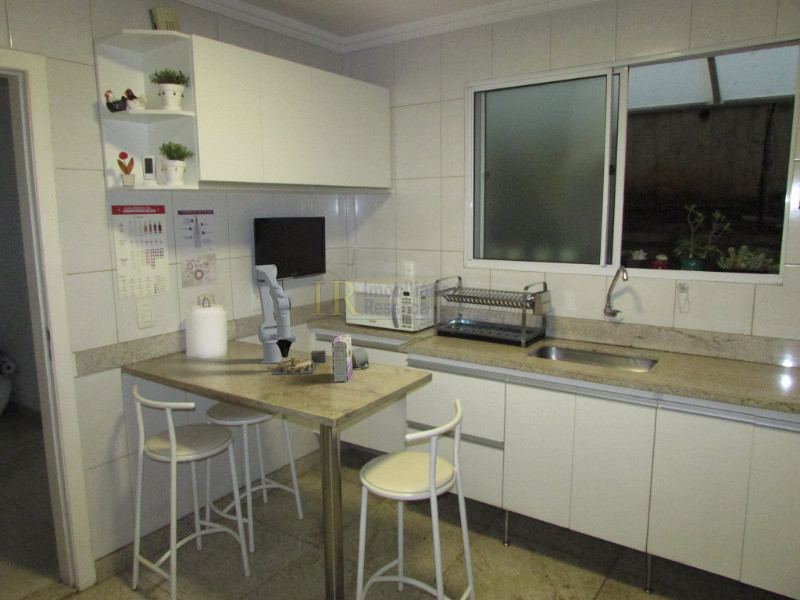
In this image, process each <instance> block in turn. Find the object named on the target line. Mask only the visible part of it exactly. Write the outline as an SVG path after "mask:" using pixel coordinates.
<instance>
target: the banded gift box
mask: <svg viewBox="0 0 800 600" xmlns="http://www.w3.org/2000/svg"><path fill="white" fill-rule="evenodd" d="M310 352H311V353H310V355H311V360H312V361H313V362H314V363H317V362H319V364H324V363H326V362H327V355H326V354H327V353H326V350H321V349H320V350H311V351H310Z"/></svg>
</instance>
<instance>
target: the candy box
mask: <svg viewBox="0 0 800 600" xmlns="http://www.w3.org/2000/svg"><path fill="white" fill-rule="evenodd" d="M331 345H332V346H331V347H332V349H331V350H332V372H333V373H332V374H333V382H334V383H349V381H350V378H351V377H352V374H353V373H354V372H353V371H354V370H353V369H354V368H352V350H353V349H352V335H351V334H337V335H336V337H334V339H333V340H332V342H331Z"/></svg>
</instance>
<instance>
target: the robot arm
mask: <svg viewBox="0 0 800 600" xmlns="http://www.w3.org/2000/svg"><path fill="white" fill-rule="evenodd" d="M277 269H278V268H277V266H276V265H275V264H263V265H262V264H261V265H253V267H252V272H251V273H252V274H251V275H252V279H253V280H252V281H253V284H254V286H257V289H258V293H259V301H260V308H261V315H262V322H261V323H260V324H259V325H258V327H257V331H258V332H257V338H258V341H259V343H261V344H262V353H263V354H262V355H263V357H262V358H263V360H262V361H261V362H260V364H279V363H280V362H282V361H283V359H284V358H285V359H286V358H288V357H289V351H290V348H291V346H292V344H293V343H299V341H300V338H299V336H295V335H292V334H291V333H292V332H291V316H290V315H291V314H290V311H291V309H292V302H291V301H292V300H291V298H290V296H288V295H286V293H285V291H284V289H283V287H282V286H281V285H279V283H278V281H277V276H278V270H277ZM273 310H274V313H273ZM274 316H275V318H274Z"/></svg>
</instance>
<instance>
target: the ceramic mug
mask: <svg viewBox="0 0 800 600" xmlns="http://www.w3.org/2000/svg"><path fill="white" fill-rule="evenodd" d="M369 367H370V361H369V353H368V352H367V350H366V349H365V348H363V347H358V348H356V349H352V368H353V369H354V368H358V369H360V370H367V369H370V368H369Z"/></svg>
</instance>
